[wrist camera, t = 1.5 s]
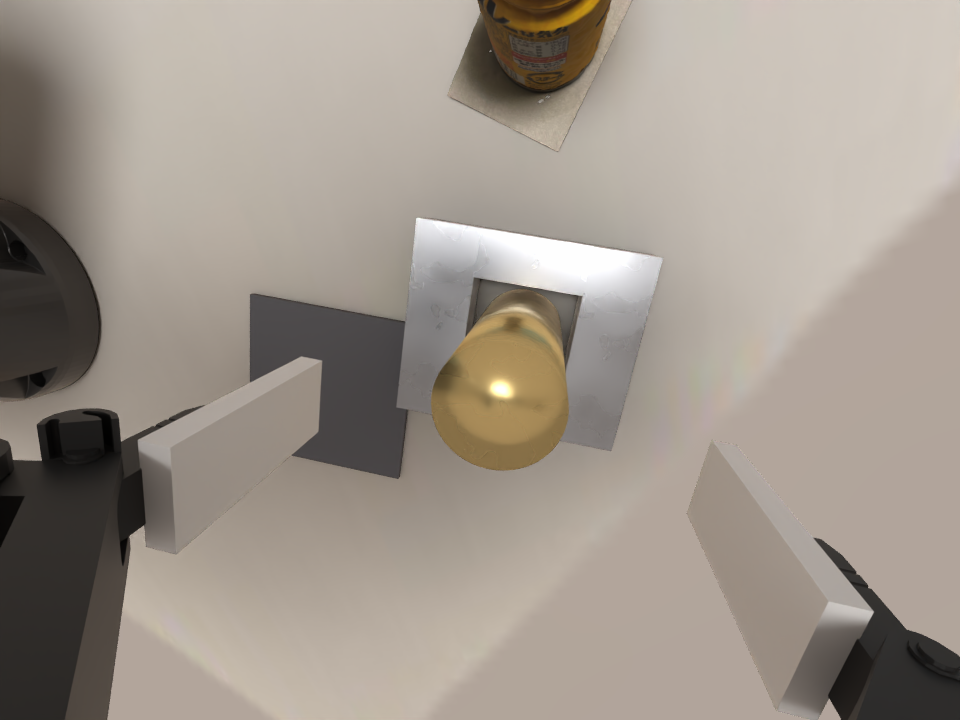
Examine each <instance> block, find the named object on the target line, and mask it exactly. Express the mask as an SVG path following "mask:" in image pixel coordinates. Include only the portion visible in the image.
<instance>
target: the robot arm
mask: <svg viewBox="0 0 960 720" xmlns="http://www.w3.org/2000/svg"><path fill="white" fill-rule="evenodd" d="M98 334H99V321H98V312H97V306H96V302H95V298H94V294H93V291H92V288H91V286H90V283H89V281H88V278H87V276H86V274H85V272H84V270H83V268H82V266H81V265H80V263H79V261H78V260H77V258H76V256H75V255H74V254H73V252H72V251H71V249H70V248H69V247H68V245H67V244H66V243H65V242H64V241H63V239H62V238H61V237H60V236H59V235H58V234H57V233H56V232H55V231H54V230H53V229H52V228H51V227H50V226H49V225H47V224H46V223H45V222H44V221H43V220H41V219H40V218H39V217H37V216H36V215H34V214H33V213H31V212H30V211H28V210H26V209H24V208H23V207H21V206H19V205H16V204H14V203H12V202H9V201H6V200H3V199H0V402H8V401H21V400H27V399H31V398H35V397H38V396H41V395H44V394H47V393H50V392H53V391H56V390H59V389H62V388H65V387H67V386H69V385H71V384H72V383H74V382H75V381H76V380H78V379H79V378H80V377H81V376H82V375H83V374H84V373H85V371H86V370H87V368H88V367H89V365H90V364H91V362H92V359H93V357H94V354H95V351H96V348H97V343H98ZM321 372H322V361H321V360H316V359H312V358H307V357H302V356H301V357H299V358H297V359H295V360H294V361H292V362H290V363H288V364H286V365H284V366H282V367H280V368H278V369H276V370H274V371H272V372H270V373H268V374H266V375H264V376H262V377H260V378H258V379H256V380H254V381H252V382H250V383H248V384H246V385H244V386H243V387H241V388H239V389H237V390H235V391H233V392H231V393H229V394H227V395H225V396H223V397H221V398H219V399H217V400H215V401H213V402H211V403H209V404H207V405H203V406H199V407H196V408H192V409H188V410H184V411H182V412H180V413H178V414H176V415H174V416H172V417H170V418H169V420H164V421H162V422H160V423H158V424H156V426H155V427H154V426H152V427H150V428H148V429H146V430H144V431H142V432H140V433H138V434H136V435H134V436H132V437H130V438H128V439H126V440H124V441H122V442H121V438H120V427H119V418H118V415H117V414H116V413H114V412H112V411H110V410H105V409H78V410H70V411H65V412H62V413H58V414H54V415H52V416H50V417H47V418H45V419H43V420H42V421H41V422H40V423H38V424H37V430H38V437H39V444H40V450H41V457H42V461H25V460H13V459H12V453H11V447H10V445H9V442H8V441H5V440H2V439H0V720H107V717H108V710H109V702H110V695H111V687H112V681H113V673H114V666H115V658H116V651H117V644H118V636H119V629H120V622H121V614H122V607H123V600H124V592H125V585H126V578H127V570H128V563H129V556H130V538H129V536H130V535H131V534H132V533H134V532H135V531H137V530H138V529H139V528H141V527H142V526H143V525H144V528H145V541H146V547H149V548H153V549H157V550H161V551H164V552H168V553H172V554H177V553H178V552H180V551H181V550H182V549H183V548H184V547H185V546H187V545H188V544H189V543H190V542H191V541H192V540H194V539H195V538H196V537H197V536H198V535H199V534H200V533H202V532H203V531H204V530H205V529H206V528H207V527H209V526H210V525H211V524H212V523H213V522H214V521H216V520H217V519H218V518H219V517H220V516H221V515H223V514H224V513H225V512H226V511H227V510H228V509H229V508H231V507H232V506H233V505H234V504H235V503H236V502H238V501H239V500H240V499H241V498H242V497H243V496H245V495H246V494H247V493H248V492H249V491H250V490H252V489H253V488H254V487H255V486H256V485H257V484H258V483H260V482H261V481H262V480H263V479H264V478H265V477H267V476H268V475H269V474H270V473H271V472H272V471H274V470H275V469H276V468H277V467H278V466H279V465H280V464H282V463H283V462H284V461H285V460H286V459H287V458H289V457H290V456H291V455H292V454H293V453H294V452H296V451H297V450H298V449H299V448H300V447H301V446H303V445H304V444H305V443H306V442H307V441H308V440H309V439H311V438H312V437H313V436H314V435H315V434H316V433H318V429H319V410H320V391H321ZM687 515H688V517H689V519H690V522H691V523H692V526H693V528H694V530H695V533H696V535H697V537H698V539H699V541H700V544H701V546H702V548H703V550H704V552H705V555H706V557H707V559H708V561H709V563H710V566H711V568H712V570H713V572H714V575H715V577H716V579H717V581H718V583H719V586H720V588H721V590H722V592H723V594H724V597H725V599H726V601H727V603H728V605H729V608H730V610H731V612H732V614H733V616H734V619H735V621H736V623H737V625H738V627H739V630H740V632H741V634H742V636H743V639H744V641H745V643H746V645H747V647H748V650H749V651H750V654H751V656H752V658H753V661H754V663H755V665H756V667H757V669H758V672H759V674H760V676H761V678H762V680H763V683H764V685H765V687H766V689H767V691H768V694H769V696H770V698H771V700H772V702H773V705H774V707H775V709H776V711H779V712H783V713H787V714H790V715H794V716H798V717H802V718H806V719H810V720H818V718H819V717H820V715H821V713H822V711H823V709H824V707H825V705H826V703H827V701H828V699H830V700H831V702H832V704H833V705H834V707H835V709H836V711H837V712H838V714H839V716H840V718H841V720H960V657H959V656H958V655H957V654H955V653H954V652H952V651H951V650H949V649H948V648H946V647H944V646H943V645H941V644H940V643H938V642H936V641H934V640H932V639H930V638H928V637H926V636H924V635H922V634H919V633H916V632H912V631H909V630H906V628H905V627H904V626H903V625H902V624H901V623H900V621H899V620H898V619H897V618H896V617H895V616H894V615H893V613H892V612H891V611H890V610H889V609H888V608H887V607H886V605H885V604H884V603H883V602H882V601H881V600H880V598H879V597H878V596H877V595H876V594H875V593H874V592H873V590H872V589H869V588H868V585H867V583H866V582H865V581H864V580H863V579H862V578H861V577H860V575H857V574H856V571H855V570H854V568H853V567H852V566H851V565H850V564H849V563H848V561H846V560H845V558H844V557H843V556H842V555H841V554H840V553H838V552H837V551H836V550H835V549H833V548H832V547H831V546H829V545H828V544H827V543H825V542H824V541H822V540H821V539H817V538H813V537H812V536H811V535H810V534H809V532H808V531H807V530H806V529H805V527H804V526H803V525H802V524H801V523H800V521H799V520H798V519H797V518H796V517H795V515H794V514H793V513H792V512H791V510H790V509H789V508H788V507H787V506H786V504H785V503H784V502H783V501H782V500H781V498H780V497H779V496H778V495H777V493H776V492H775V491H774V490H773V488H772V487H771V486H770V485H769V484H768V482H767V481H766V480H765V479H764V478H763V476H762V475H761V474H760V473H759V472H758V470H757V469H756V468H755V467H754V466H753V464H752V463H751V462H750V461H749V459H748V458H747V457H746V456H745V455H744V453H743V452H742V451H741V450H740V449H739V447H738V446H737V445H734V444H730V443H724V442H720V441H715V440H711V443H710V446H709V449H708V452H707V455H706V458H705V461H704V464H703V467H702V470H701V473H700V476H699V479H698V482H697V485H696V487H695V490H694V493H693V496H692V499H691V502H690V505H689V508H688V511H687Z"/></svg>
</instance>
